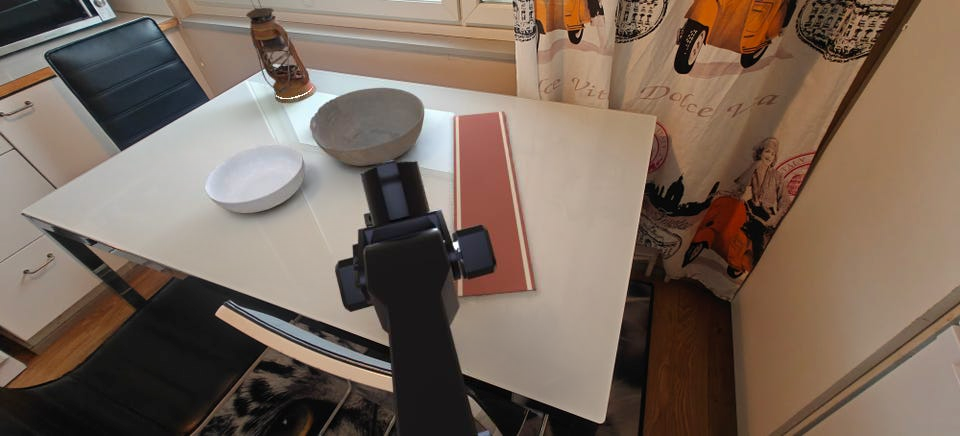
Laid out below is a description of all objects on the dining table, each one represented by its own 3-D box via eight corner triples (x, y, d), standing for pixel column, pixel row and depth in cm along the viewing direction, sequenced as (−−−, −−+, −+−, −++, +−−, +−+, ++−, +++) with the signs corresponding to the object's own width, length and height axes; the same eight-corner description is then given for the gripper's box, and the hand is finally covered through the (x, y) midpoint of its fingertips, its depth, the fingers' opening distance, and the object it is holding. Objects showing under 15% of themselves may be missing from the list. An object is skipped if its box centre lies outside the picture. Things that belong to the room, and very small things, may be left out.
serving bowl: (220, 238, 85) (202, 215, 80) (221, 183, 99) (205, 161, 94) (319, 204, 90) (308, 180, 86) (306, 157, 104) (296, 134, 100)
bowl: (322, 132, 112) (308, 99, 105) (418, 110, 117) (411, 77, 110) (325, 192, 93) (309, 157, 86) (441, 163, 98) (434, 127, 91)
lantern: (328, 86, 133) (291, -16, 112) (303, 105, 125) (258, 0, 104) (288, 81, 138) (246, -17, 118) (261, 99, 130) (210, -2, 109)
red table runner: (535, 290, 69) (535, 289, 69) (454, 297, 70) (454, 296, 70) (503, 112, 112) (503, 111, 112) (453, 117, 113) (453, 116, 113)
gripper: (481, 173, 44) (468, 196, 60) (307, 215, 42) (341, 227, 57) (508, 273, 43) (488, 269, 59) (332, 321, 41) (359, 304, 56)
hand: (420, 265), depth 58 cm, fingers open, 9 cm apart
